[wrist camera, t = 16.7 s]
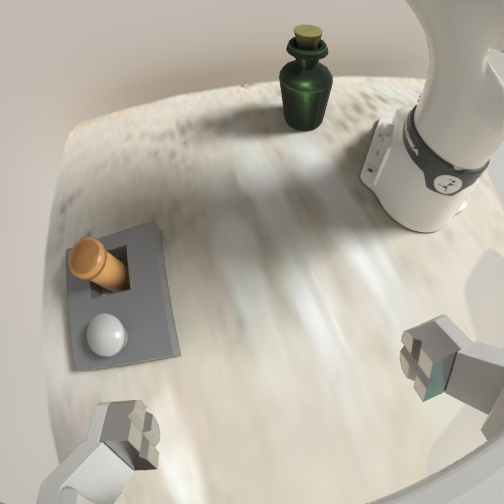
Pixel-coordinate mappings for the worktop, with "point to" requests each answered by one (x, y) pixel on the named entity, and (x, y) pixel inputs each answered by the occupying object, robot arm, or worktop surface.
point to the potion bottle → (305, 79)
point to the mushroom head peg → (98, 265)
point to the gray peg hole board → (124, 307)
